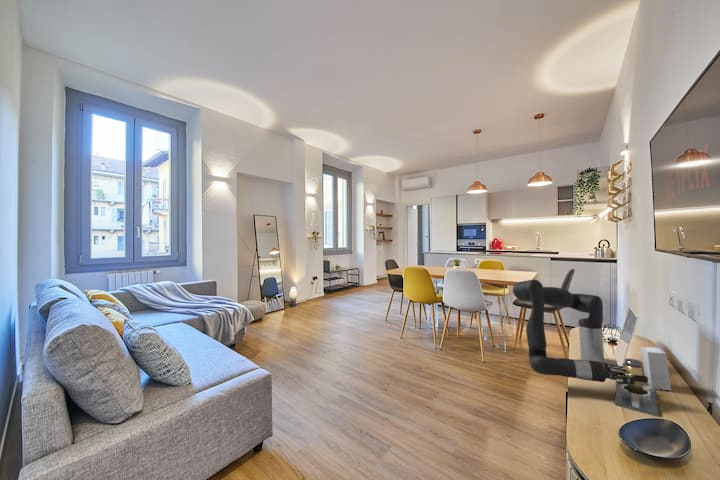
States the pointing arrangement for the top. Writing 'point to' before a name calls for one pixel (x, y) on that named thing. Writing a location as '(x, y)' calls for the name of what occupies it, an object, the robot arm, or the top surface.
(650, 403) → the socket base
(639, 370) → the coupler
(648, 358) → the skincare box
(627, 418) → the top surface
